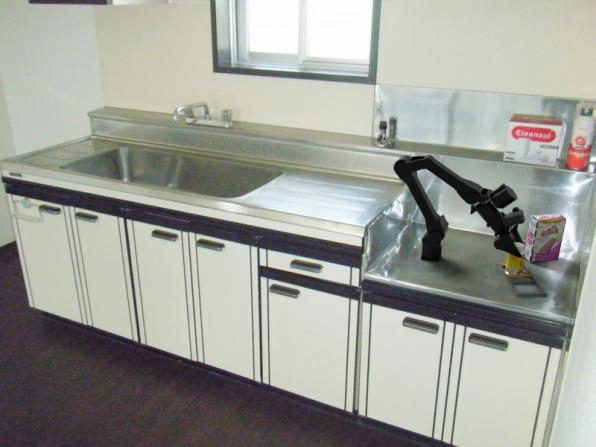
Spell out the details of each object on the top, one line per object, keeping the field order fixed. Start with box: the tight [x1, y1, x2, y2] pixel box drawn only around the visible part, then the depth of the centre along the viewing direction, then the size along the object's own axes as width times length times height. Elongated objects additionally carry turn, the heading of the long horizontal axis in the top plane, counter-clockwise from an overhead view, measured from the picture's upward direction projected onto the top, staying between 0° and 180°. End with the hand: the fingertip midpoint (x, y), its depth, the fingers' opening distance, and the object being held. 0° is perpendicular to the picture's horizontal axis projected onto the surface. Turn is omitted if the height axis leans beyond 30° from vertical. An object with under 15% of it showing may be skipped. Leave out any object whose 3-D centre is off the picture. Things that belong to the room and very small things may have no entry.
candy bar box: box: [524, 213, 567, 263], centre depth 203 cm, size 11×5×16 cm, turn 100°
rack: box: [495, 261, 548, 298], centre depth 191 cm, size 22×10×1 cm, turn 178°
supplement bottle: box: [505, 242, 526, 275], centre depth 195 cm, size 6×6×10 cm
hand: (522, 251), depth 193 cm, fingers open, 9 cm apart
